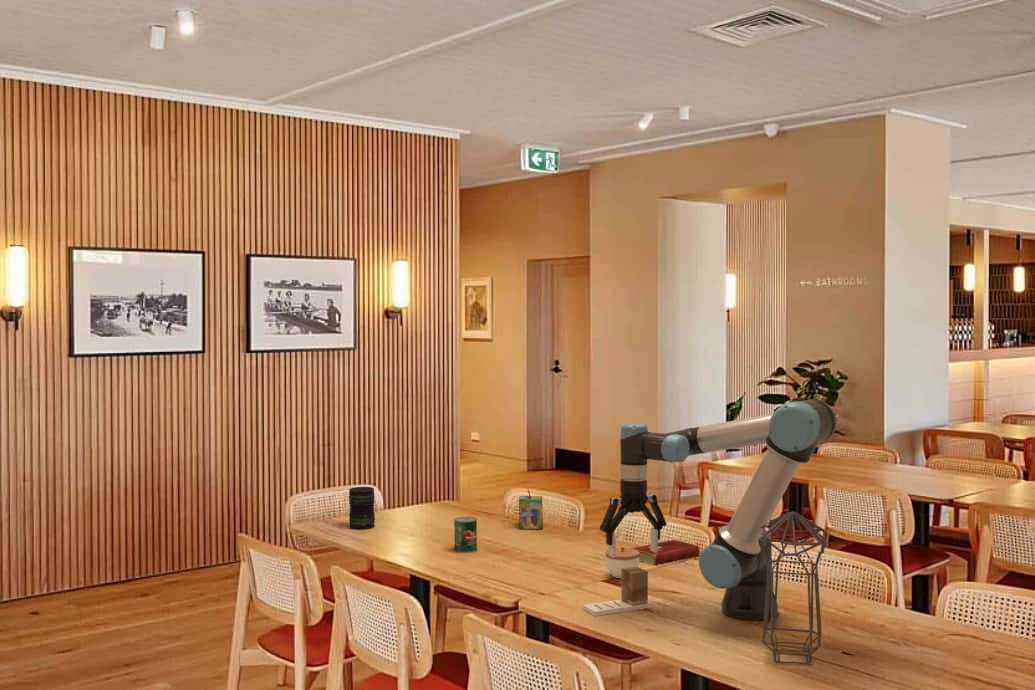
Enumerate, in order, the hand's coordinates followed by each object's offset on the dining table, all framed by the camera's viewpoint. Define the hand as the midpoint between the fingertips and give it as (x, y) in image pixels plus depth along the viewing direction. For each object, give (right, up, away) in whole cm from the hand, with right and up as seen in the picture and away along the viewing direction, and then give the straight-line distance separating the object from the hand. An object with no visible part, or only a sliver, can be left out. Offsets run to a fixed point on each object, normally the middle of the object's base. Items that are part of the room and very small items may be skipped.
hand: (633, 554), depth 279 cm
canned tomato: (-51, -13, +68) cm, 86 cm away
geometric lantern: (+33, -16, -43) cm, 56 cm away
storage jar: (-93, -12, +107) cm, 143 cm away
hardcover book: (+17, -13, +55) cm, 59 cm away
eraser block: (0, -14, 0) cm, 14 cm away
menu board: (-5, -15, -2) cm, 16 cm away
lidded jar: (0, -14, +31) cm, 34 cm away
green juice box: (-27, -12, +104) cm, 109 cm away
